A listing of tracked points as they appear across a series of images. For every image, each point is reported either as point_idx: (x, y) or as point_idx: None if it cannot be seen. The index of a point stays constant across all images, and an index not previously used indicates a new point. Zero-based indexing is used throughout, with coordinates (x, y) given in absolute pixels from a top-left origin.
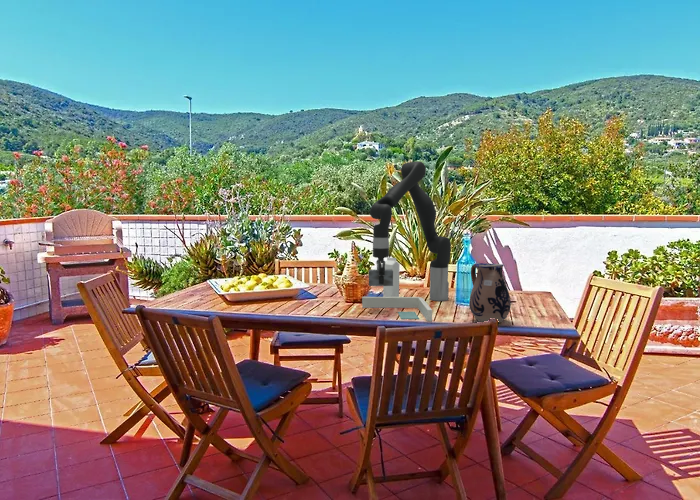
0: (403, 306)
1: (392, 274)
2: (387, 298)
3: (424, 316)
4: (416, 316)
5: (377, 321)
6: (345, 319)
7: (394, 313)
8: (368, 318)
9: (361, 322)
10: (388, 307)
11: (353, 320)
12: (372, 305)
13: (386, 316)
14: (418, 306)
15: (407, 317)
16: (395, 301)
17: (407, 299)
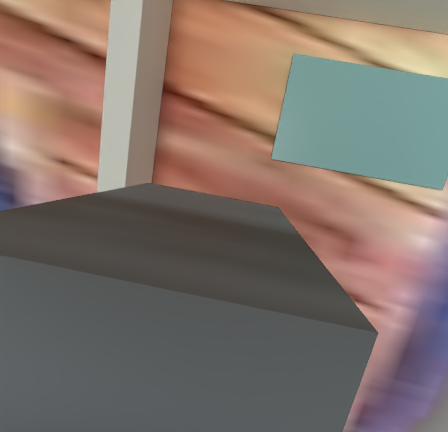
0: (160, 86)
1: (320, 278)
2: (127, 186)
3: (441, 30)
4: (424, 84)
5: (445, 315)
6: (359, 426)
7: (294, 184)
8: None
9: (438, 384)
10: (151, 176)
11: (388, 403)
12: None
13: (352, 245)
14: None
15: (431, 147)
16: (141, 132)
17: (145, 38)
